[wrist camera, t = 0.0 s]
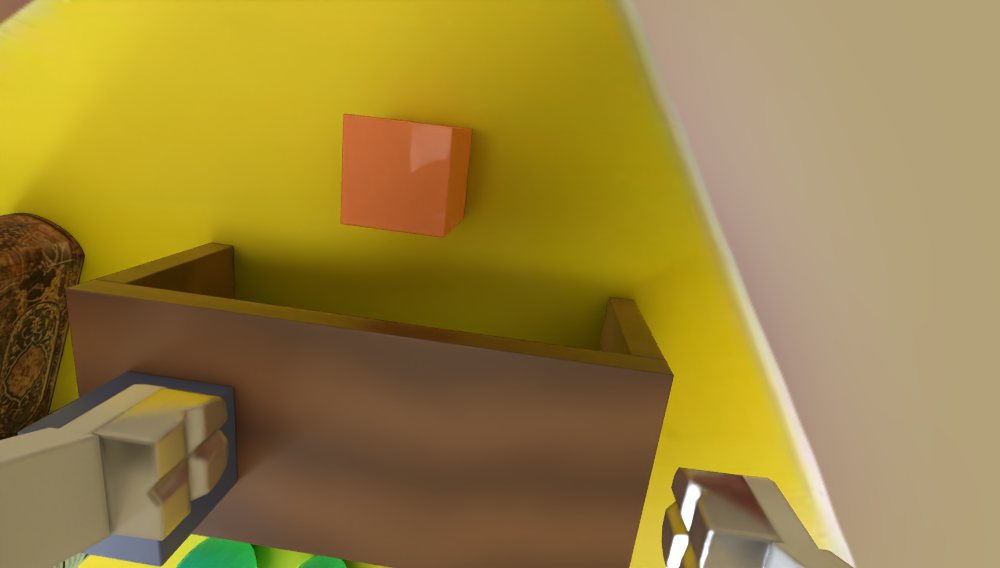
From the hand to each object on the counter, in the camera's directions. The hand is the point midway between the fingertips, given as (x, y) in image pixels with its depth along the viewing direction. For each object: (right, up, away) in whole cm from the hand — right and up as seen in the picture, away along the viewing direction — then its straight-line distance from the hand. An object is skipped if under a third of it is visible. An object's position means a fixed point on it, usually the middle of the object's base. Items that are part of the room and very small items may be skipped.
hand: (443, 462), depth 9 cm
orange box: (-3, +10, +20) cm, 23 cm away
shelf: (-5, -2, +23) cm, 24 cm away
